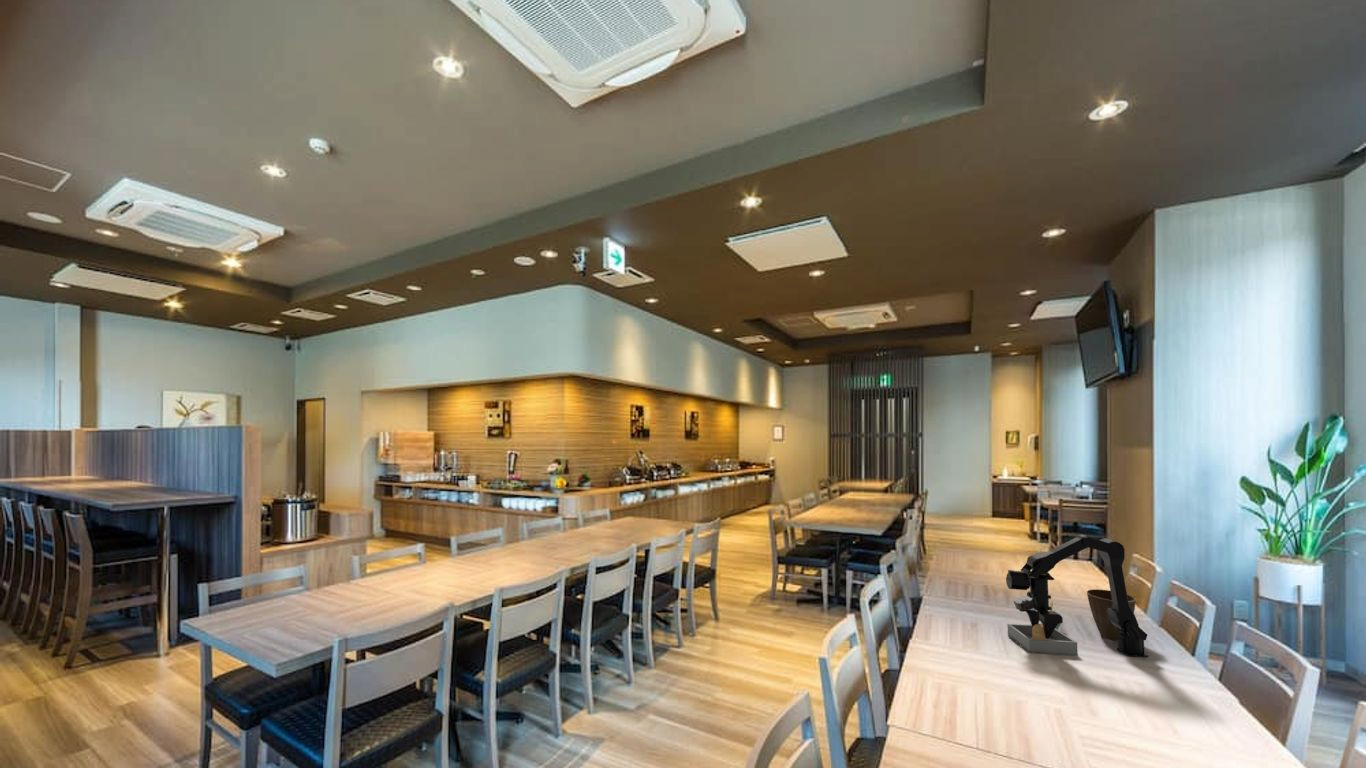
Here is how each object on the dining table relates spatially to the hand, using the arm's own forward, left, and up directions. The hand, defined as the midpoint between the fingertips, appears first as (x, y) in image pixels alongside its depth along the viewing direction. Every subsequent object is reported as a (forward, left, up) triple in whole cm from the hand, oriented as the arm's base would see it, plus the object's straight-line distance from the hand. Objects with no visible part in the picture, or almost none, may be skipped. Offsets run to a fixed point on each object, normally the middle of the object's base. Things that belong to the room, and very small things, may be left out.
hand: (1040, 634), depth 200 cm
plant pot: (-32, -12, -4) cm, 34 cm away
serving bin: (0, 0, -4) cm, 4 cm away
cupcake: (-12, -17, -4) cm, 21 cm away
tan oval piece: (0, 0, -3) cm, 3 cm away
